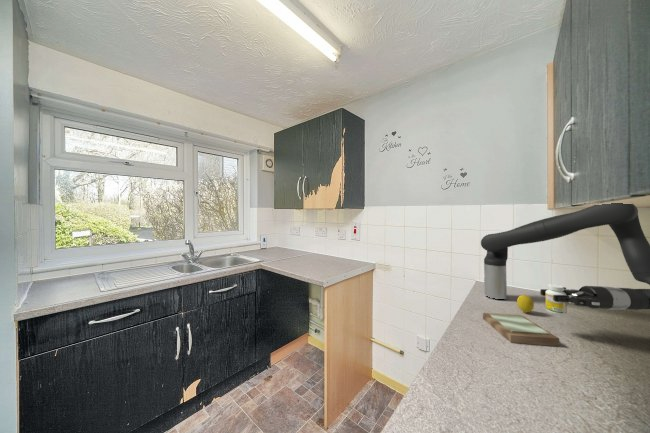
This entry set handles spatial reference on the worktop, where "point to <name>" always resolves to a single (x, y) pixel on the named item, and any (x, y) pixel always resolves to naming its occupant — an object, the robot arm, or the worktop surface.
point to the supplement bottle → (552, 305)
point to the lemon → (525, 303)
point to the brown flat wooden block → (520, 329)
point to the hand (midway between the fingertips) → (547, 295)
